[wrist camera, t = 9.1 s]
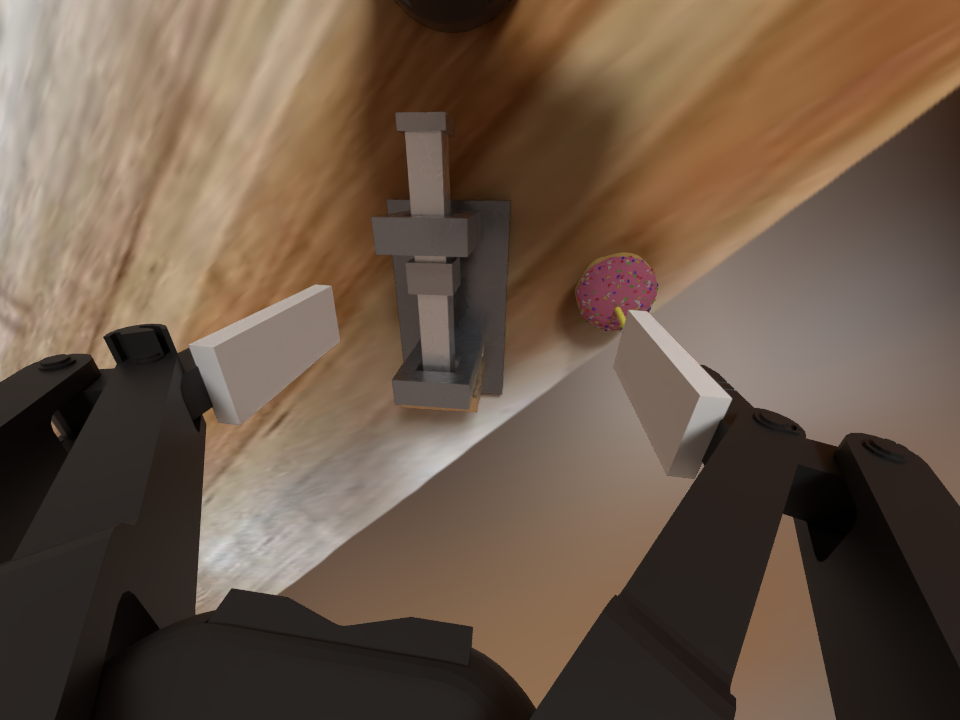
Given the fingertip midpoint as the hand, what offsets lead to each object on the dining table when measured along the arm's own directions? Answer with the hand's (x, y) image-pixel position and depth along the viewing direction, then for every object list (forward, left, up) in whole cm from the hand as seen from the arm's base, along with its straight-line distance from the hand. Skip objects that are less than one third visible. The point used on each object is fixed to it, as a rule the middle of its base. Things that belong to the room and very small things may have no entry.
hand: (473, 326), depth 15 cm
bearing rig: (+8, -6, -28) cm, 30 cm away
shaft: (+1, -6, -22) cm, 23 cm away
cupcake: (+5, +13, -29) cm, 32 cm away
